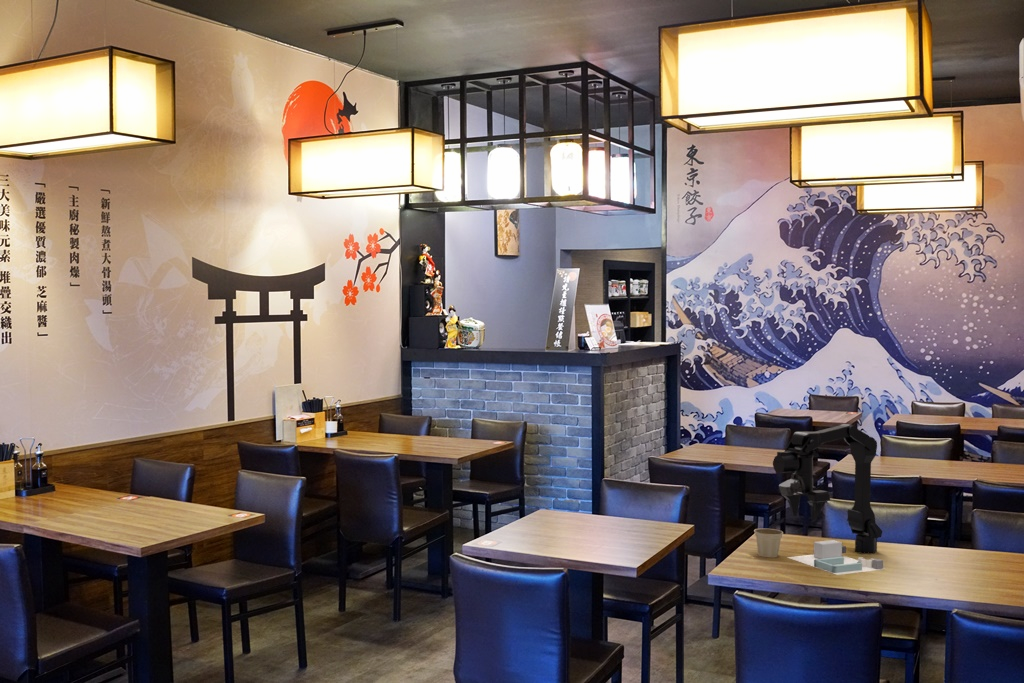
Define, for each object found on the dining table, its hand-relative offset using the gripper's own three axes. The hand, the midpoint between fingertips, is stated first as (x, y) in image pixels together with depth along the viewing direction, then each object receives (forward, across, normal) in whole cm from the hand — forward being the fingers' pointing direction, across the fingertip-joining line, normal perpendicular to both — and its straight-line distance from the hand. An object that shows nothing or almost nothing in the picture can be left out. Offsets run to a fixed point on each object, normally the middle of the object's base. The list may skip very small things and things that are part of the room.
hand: (804, 518), depth 303 cm
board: (+14, +8, +5) cm, 17 cm away
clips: (+13, +15, +12) cm, 23 cm away
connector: (+13, +2, +10) cm, 16 cm away
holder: (+13, +14, +2) cm, 19 cm away
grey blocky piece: (+13, +16, +12) cm, 24 cm away
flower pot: (+14, -8, -8) cm, 18 cm away
